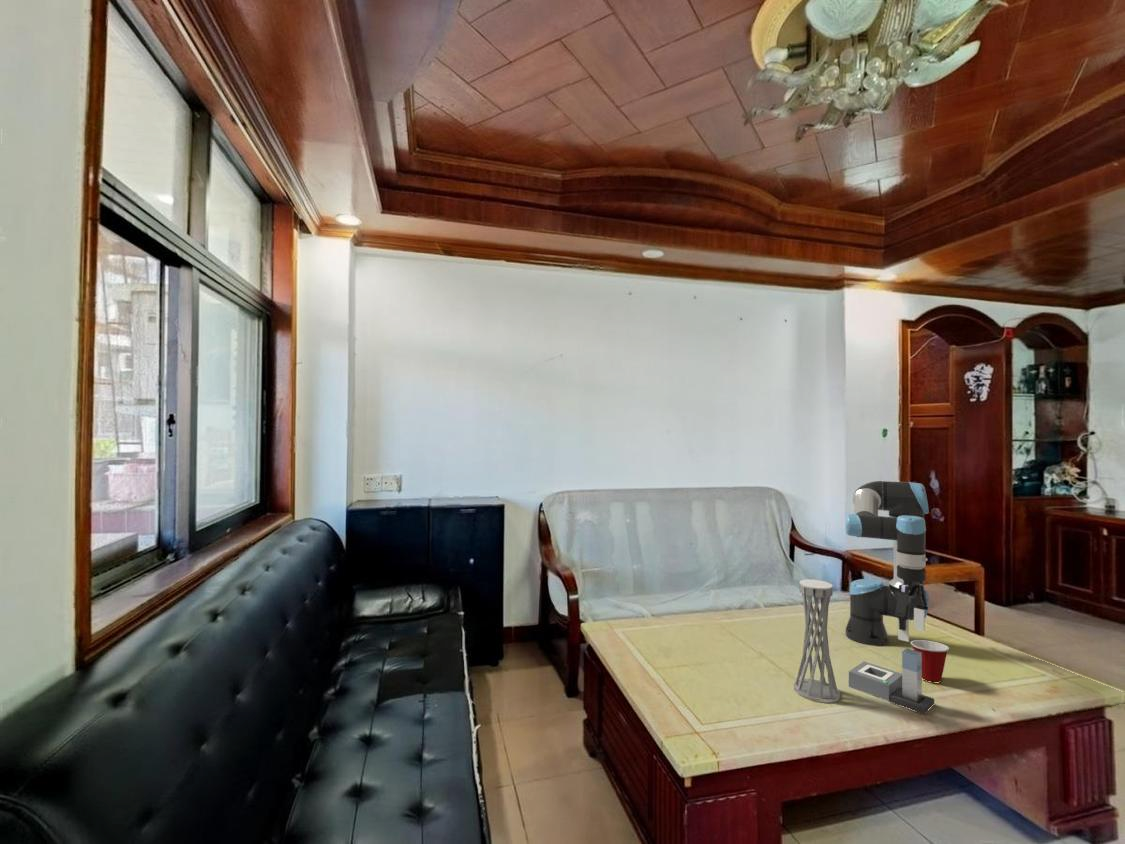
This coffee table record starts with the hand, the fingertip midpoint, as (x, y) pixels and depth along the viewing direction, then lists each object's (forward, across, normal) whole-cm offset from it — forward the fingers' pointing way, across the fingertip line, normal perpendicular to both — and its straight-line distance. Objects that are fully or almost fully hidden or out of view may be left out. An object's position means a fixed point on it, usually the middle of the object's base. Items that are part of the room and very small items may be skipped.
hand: (911, 635), depth 161 cm
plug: (+20, 0, 0) cm, 20 cm away
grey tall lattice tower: (+22, -16, +22) cm, 35 cm away
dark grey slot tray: (+21, 0, 0) cm, 21 cm away
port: (+21, +2, +11) cm, 24 cm away
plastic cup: (+21, +23, +2) cm, 32 cm away
